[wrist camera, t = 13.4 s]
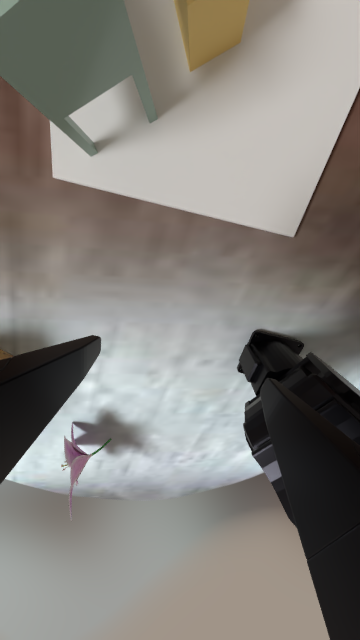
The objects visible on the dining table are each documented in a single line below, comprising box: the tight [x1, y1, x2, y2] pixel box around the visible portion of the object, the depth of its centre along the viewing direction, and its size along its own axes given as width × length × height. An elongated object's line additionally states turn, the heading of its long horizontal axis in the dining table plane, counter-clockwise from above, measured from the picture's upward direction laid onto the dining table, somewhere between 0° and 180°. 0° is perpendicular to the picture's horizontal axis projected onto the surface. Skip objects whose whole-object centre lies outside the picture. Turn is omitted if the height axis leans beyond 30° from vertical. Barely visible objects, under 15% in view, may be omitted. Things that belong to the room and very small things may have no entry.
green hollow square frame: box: [0, 0, 158, 157], centre depth 10 cm, size 7×7×10 cm
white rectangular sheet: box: [50, 0, 360, 237], centre depth 14 cm, size 25×20×1 cm
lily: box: [61, 422, 112, 520], centre depth 30 cm, size 12×12×10 cm
